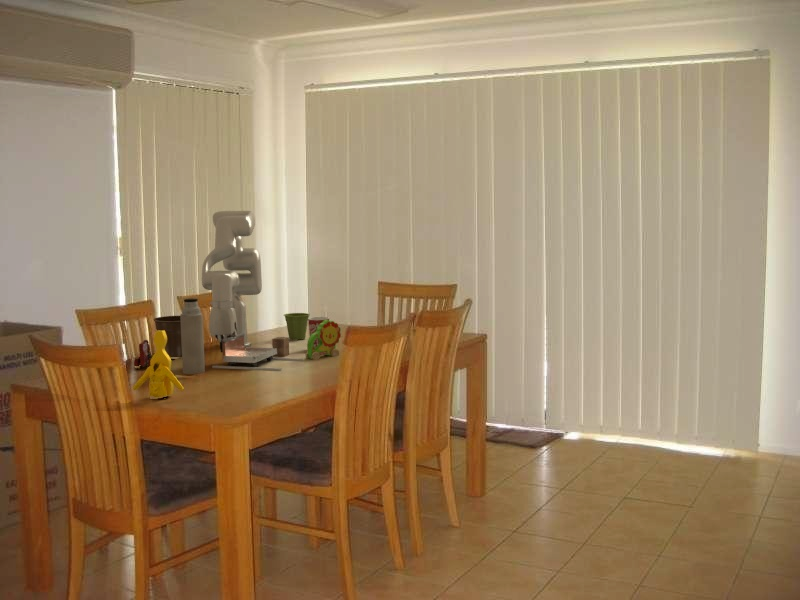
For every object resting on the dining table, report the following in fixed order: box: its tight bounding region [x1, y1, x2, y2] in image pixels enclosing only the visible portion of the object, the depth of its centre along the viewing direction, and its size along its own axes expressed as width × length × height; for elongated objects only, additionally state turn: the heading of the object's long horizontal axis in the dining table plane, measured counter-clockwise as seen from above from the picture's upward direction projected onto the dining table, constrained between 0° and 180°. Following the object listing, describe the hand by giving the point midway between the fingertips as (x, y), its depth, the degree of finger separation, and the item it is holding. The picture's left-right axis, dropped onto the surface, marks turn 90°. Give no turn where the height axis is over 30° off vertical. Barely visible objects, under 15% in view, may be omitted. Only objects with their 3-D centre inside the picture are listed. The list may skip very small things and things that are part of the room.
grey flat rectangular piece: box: [211, 357, 304, 372], centre depth 357 cm, size 28×21×2 cm
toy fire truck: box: [133, 339, 153, 367], centre depth 359 cm, size 7×12×10 cm, turn 1°
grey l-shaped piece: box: [222, 333, 277, 367], centre depth 358 cm, size 14×20×11 cm
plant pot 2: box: [283, 312, 311, 341], centre depth 421 cm, size 12×12×11 cm
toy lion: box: [305, 320, 342, 361], centre depth 371 cm, size 16×5×15 cm, turn 134°
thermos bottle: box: [179, 298, 206, 375], centre depth 343 cm, size 8×8×28 cm
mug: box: [307, 316, 330, 349], centre depth 393 cm, size 13×9×14 cm
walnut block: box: [271, 336, 290, 358], centre depth 375 cm, size 5×5×8 cm
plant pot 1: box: [153, 315, 182, 357], centre depth 379 cm, size 16×16×16 cm
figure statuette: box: [131, 330, 185, 397], centre depth 304 cm, size 18×8×22 cm, turn 82°
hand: (224, 351), depth 361 cm, fingers closed
